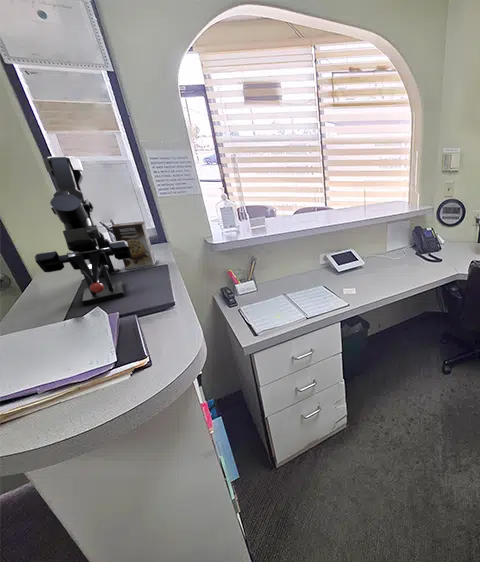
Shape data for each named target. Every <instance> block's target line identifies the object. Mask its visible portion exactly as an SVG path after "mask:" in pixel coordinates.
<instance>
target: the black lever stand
mask: <svg viewBox="0 0 480 562" xmlns="http://www.w3.org/2000/svg"><path fill="white" fill-rule="evenodd" d="M107 270H109V269H108V266H107V265H104V266H103V268H102V270H101V271H102V273H103V276H102V277H103V278H104V281H105V284H103V286H104V289H103V291H102V292H99V293H94V292H92V291H91V290H90V286H91V284H93V282H92V281H91V280H90V279H89V277H88V276H87V275H86V274H85V273H83V272H82V271H81V270H79V272H80V274H81V275H83V277H84V280H85V282H86V284H87V287H86V288H84V289H83V294H82V298H81V303H82V305H83V306H88V305H89V306H90V305H93V304H97V303H102V302H106V301H110V300H111V301H112V300H114V299H118V298H124V297H125V292H124V285H123V282H122V281H121V280H120V281H115V282H113V281H112V279H111V275H110V274H109V273H108V271H107Z"/></svg>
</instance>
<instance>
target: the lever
mask: <svg viewBox="0 0 480 562" xmlns="http://www.w3.org/2000/svg"><path fill="white" fill-rule="evenodd" d="M87 265H88V267H89V269H90V271H91V273H92V266H91V264H90V263H89V264H87ZM100 274H101V272H100ZM92 275H93V274H92ZM103 285H104V284H103V283H101V282H100V277H99V278H98V281H97V282H96V283H93V284H91V286H90V290H91V291H92V292H94V293H99V292H102V291H103V289H104V286H103Z"/></svg>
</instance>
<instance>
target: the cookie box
mask: <svg viewBox="0 0 480 562" xmlns="http://www.w3.org/2000/svg"><path fill="white" fill-rule="evenodd" d="M111 230H112V233H113V236H114V239H115V242H117V241H126V242H127V243H128V246H129V249H130V252H131V255H132V257H131V258H127V259H122V262H123V265H124V268H125V270H131V269H132V270H133V269H138V268H145V267H153V266H155V264H156V263H157V260H156V256H155V254H154V249H153V247H152V243H151V241H150V236H149V233H148V230H147V226H146V223H145V221H137V222H136V221H135V222H123V223H115V224H113V225H111Z"/></svg>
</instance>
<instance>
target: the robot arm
mask: <svg viewBox="0 0 480 562" xmlns="http://www.w3.org/2000/svg"><path fill="white" fill-rule="evenodd" d="M42 162H43V164H44V167H45V170H46V172H47V173H51V176H52V177H53V178H54V180H55V185H56V188H57V191H56V192H54V193H53V197H52V198H51V200H50V202H49V203H50V205H51V206H50V209H51V211H52V213H53V214H54V215H56V216H57V217H58V219H59V221H60V222H61V223H62V224H63V226H64V227H63V228H64V230H62V233H63V237H64V239H65V243H66V247H67V249H68V251H67V252H66V254H61V255H59V253H58V251H56V250H50V251H43V252H37V253H36V255H35V256H34V260H35V263H36V264H37V265H38V266H39V267H40V269H41V270H42V271H43V273H54V272H59V271H62V270H63V269H64V268H65V264H67V263H69V264H70V266H71V267H72V269H73V270H74V271H75V270H76V271H80V270H81V271H82V272H83V273H85V274H86V275H87V276H88V277H89V279H90V280H91V281H92V282H93V283H96V282H97V281H98V278H99V279H100V277H104V276H103V273H102V271H101V270H102V268H103V266H104V265H107V266H108V269H109V270H107V271H108V273H109V275H111V274H113V273H117V272H120V271H121V270H120V269H119V268H115V267H114V264H113V261H112V260H111V257H112V256H113V257H114V259H116V260H119V261H120V260H121V261H123V259H127V258H131V257H132V255H131V252H130V249H129V246H128V243H127V242H126V241H117V242H116V241H110V240H109V239H108V238H106V237H105V236H104V234H103V233H102V232H100V230H99V228H98V225H97V224H94V220H93V217H92V216H91V213H93V212H94V207H95V206H94V205H93V203H92V202H91V201H90V200H89V199H86V198H85V195H84V193H83V190H82V187H81V183H82V182H83V180H84V179H83V178H84V176H83V173H82V172H84V169H83V166H82V163H81V160H80V159H79V158H76V157H74V156H65V155H64V156H63V155H61V156H59V155H58V156H57V155H56V156H47V158H42ZM86 261H88V263H89V264H87V262H86ZM90 264H91V266H92V273H91V271H90V269H89V267H88V265H90ZM100 272H101V274H100ZM92 274H93V275H92Z"/></svg>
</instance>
